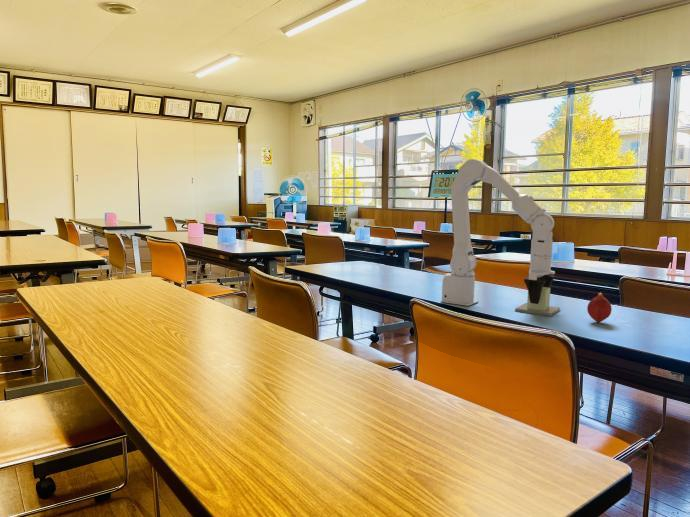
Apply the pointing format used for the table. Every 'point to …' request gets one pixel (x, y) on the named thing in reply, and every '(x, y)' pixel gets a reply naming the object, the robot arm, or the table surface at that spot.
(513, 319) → the table surface
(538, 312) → the coaster
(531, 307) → the block
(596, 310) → the onion
